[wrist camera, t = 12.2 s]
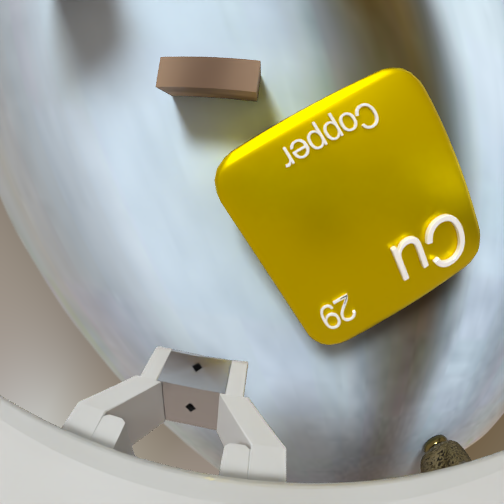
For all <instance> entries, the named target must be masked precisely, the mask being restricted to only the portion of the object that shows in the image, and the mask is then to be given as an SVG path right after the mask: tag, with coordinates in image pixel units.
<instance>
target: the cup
mask: <svg viewBox="0 0 504 504" xmlns="http://www.w3.org/2000/svg"><path fill="white" fill-rule="evenodd" d="M424 452H425V454H424V456H423V458H422V460H421V473H425V472H429V471H434V470H439V469H443V468H447V467H451V466H455V465H459V464H463V463H466V462H470V461H472V460H471V459H470V457H469V456H468V454H467V453H466V452H465V450H464V449H463V448H462V446H461V445H460V444H459V443H457V442H455V441H452V440H447V438H446V437H445V436H443V435H438V436H435V437H433V438H431V439H430V440H428V441H427V442H426V444H425V445H424Z"/></svg>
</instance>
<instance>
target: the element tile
mask: <svg viewBox="0 0 504 504" xmlns="http://www.w3.org/2000/svg"><path fill="white" fill-rule="evenodd" d="M215 186H216V191H217V194H218V197H219V199H220V201H221V203H222V204H223V206H224V207H225V209H226V210H227V212H228V214H229V215H230V217H231V218H232V220H233V221H234V223H235V224H236V226H237V227H238V229H239V230H240V232H241V233H242V235H243V236H244V238H245V239H246V241H247V242H248V244H249V245H250V247H251V248H252V250H253V251H254V253H255V254H256V256H257V257H258V259H259V260H260V262H261V264H262V265H263V267H264V268H265V270H266V271H267V273H268V274H269V276H270V277H271V279H272V280H273V282H274V283H275V285H276V286H277V288H278V289H279V291H280V292H281V294H282V295H283V297H284V298H285V300H286V301H287V303H288V304H289V306H290V308H291V309H292V311H293V312H294V314H295V315H296V317H297V318H298V320H299V321H300V323H301V324H302V326H303V327H304V329H305V330H306V332H307V333H308V335H309V336H310V337H311V338H312V339H314V340H315V341H317V342H319V343H321V344H326V345H333V344H339V343H342V342H345V341H347V340H349V339H351V338H353V337H355V336H356V335H358V334H360V333H362V332H364V331H366V330H367V329H369V328H371V327H373V326H374V325H376V324H378V323H380V322H381V321H383V320H385V319H386V318H388V317H390V316H392V315H393V314H395V313H397V312H398V311H400V310H401V309H403V308H405V307H406V306H408V305H410V304H411V303H413V302H414V301H416V300H417V299H419V298H421V297H422V296H424V295H425V294H427V293H428V292H430V291H431V290H433V289H434V288H436V287H437V286H439V285H440V284H442V283H443V282H445V281H446V280H447V279H449V278H450V277H452V276H453V275H455V274H456V273H457V272H459V271H460V270H461V269H463V268H464V267H466V266H467V265H468V264H469V263H470V262H471V261H472V259H473V258H474V256H475V255H476V253H477V251H478V249H479V243H480V229H479V226H478V222H477V218H476V214H475V211H474V207H473V204H472V201H471V198H470V194H469V191H468V188H467V185H466V182H465V179H464V176H463V174H462V171H461V168H460V165H459V163H458V160H457V157H456V155H455V152H454V150H453V147H452V145H451V142H450V140H449V138H448V135H447V133H446V131H445V129H444V126H443V124H442V122H441V120H440V118H439V116H438V114H437V111H436V109H435V107H434V105H433V103H432V101H431V99H430V97H429V96H428V94H427V92H426V90H425V88H424V87H423V85H422V84H421V82H420V81H419V80H418V79H417V78H416V77H415V76H414V75H413V74H412V73H411V72H408V71H406V70H404V69H402V68H386V69H382V70H380V71H378V72H375V73H373V74H371V75H369V76H367V77H365V78H363V79H360V80H358V81H356V82H354V83H352V84H350V85H348V86H346V87H344V88H342V89H340V90H338V91H336V92H334V93H332V94H330V95H328V96H326V97H324V98H323V99H321V100H319V101H317V102H315V103H313V104H311V105H309V106H308V107H306V108H304V109H302V110H300V111H298V112H297V113H295V114H293V115H291V116H290V117H288V118H286V119H284V120H282V121H281V122H279V123H277V124H276V125H274V126H272V127H270V128H269V129H267V130H265V131H264V132H262V133H260V134H259V135H257V136H255V137H254V138H252V139H250V140H249V141H247V142H246V143H244V144H242V145H241V146H239V147H238V148H236V149H234V150H233V151H231V152H230V153H229V154H228V155H227V156H226V157H225V158H224V159H223V160H222V162H221V163H220V165H219V166H218V168H217V171H216V176H215Z"/></svg>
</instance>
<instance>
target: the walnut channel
mask: <svg viewBox="0 0 504 504" xmlns="http://www.w3.org/2000/svg"><path fill="white" fill-rule="evenodd" d="M260 76H261V64H260V61H257V60H246V59H234V58H217V57H161V58H160V64H159V70H158V76H157V82H156V87H157V88H159V89H160V90H162V91H164V92H166V93H168V94H170V95H171V96H196V97H215V98H228V99H240V100H249V101H257V98H258V91H259V83H260Z"/></svg>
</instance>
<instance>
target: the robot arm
mask: <svg viewBox="0 0 504 504" xmlns="http://www.w3.org/2000/svg"><path fill="white" fill-rule="evenodd" d="M247 369H248V362H245V361H237V360H228V359H221V358H215V357H209V356H203V355H198V354H193V353H189V352H184V351H180V350H175V349H170V348H165V347H161V346H158V347H157V348H155V350H154V352H153V354H152V356H151V357H150V359H149V361H148V363H147V365H146V367H145V368H144V370H143V372H142V374H141V376H134V377H132V378H130V379H127V380H125V381H123V382H121V383H119V384H117V385H115V386H113V387H110V388H108V389H106V390H104V391H102V392H100V393H98V394H95V395H93V396H91V397H88V398H86V399H84V400H82V401H79V402H78V404H77V405H76V407H75V408H74V410H73V411H72V413H71V414H70V416H69V417H68V419H67V420H66V422H65V423H64V425H63V426H62V428H60V427H58V426H56V425H54V424H52V423H50V422H47V421H45V420H43V419H42V418H40V417H38V416H36V415H34V414H32V413H30V412H28V411H27V410H25V409H23V408H21V407H19V406H18V405H16V404H14V403H12V402H11V401H9V400H7V399H6V398H4V397H2V396H1V395H0V504H504V450H503V451H500V452H497V453H494V454H492V455H489V456H486V457H483V458H480V459H476V460H473V461H470V462H466V463H463V464H459V465H455V466H451V467H447V468H443V469H439V470H434V471H429V472H425V473H419V474H414V475H408V476H402V477H395V478H388V479H379V480H370V481H358V482H341V483H287V482H286V447H285V446H284V445H283V444H282V442H281V441H280V440H279V438H278V437H277V436H276V434H275V433H274V432H273V431H272V429H271V428H270V427H269V425H268V424H267V423H266V421H265V420H264V418H263V417H262V416H261V414H260V413H259V412H258V410H257V409H256V407H255V406H254V405H253V403H252V402H251V401H250V399H249V398H247V397H244V392H245V384H246V377H247ZM165 420H169V421H174V422H179V423H184V424H190V425H194V426H199V427H203V428H208V429H213V430H217V433H218V435H219V437H220V439H221V441H222V443H223V446H224V451H223V456H222V461H221V466H220V471H219V476H217V475H212V474H206V473H200V472H195V471H191V470H186V469H181V468H177V467H172V466H168V465H164V464H161V463H157V462H153V461H149V460H146V459H142V458H139V457H136V456H135V455H134V452H133V449H132V445H133V444H135V443H136V442H138V441H139V440H140V439H142V438H143V437H144V436H146V435H147V434H149V433H150V432H151V431H153V430H154V429H155V428H157V427H158V426H159V425H161V424H162V423H163V422H165Z"/></svg>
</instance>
